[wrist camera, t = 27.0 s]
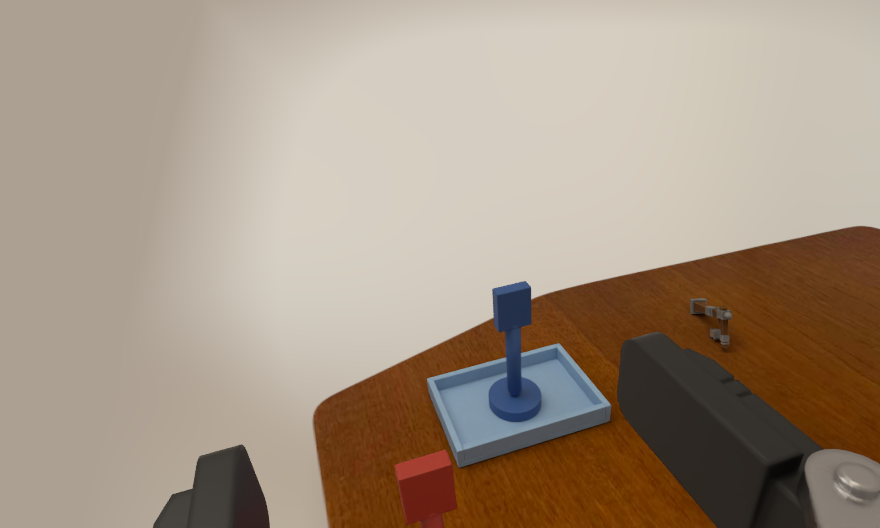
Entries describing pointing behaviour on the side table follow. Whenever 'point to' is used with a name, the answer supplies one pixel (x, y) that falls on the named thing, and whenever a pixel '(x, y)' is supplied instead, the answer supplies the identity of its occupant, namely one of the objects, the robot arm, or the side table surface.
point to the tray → (486, 435)
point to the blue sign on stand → (513, 356)
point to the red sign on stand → (426, 489)
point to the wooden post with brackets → (721, 313)
